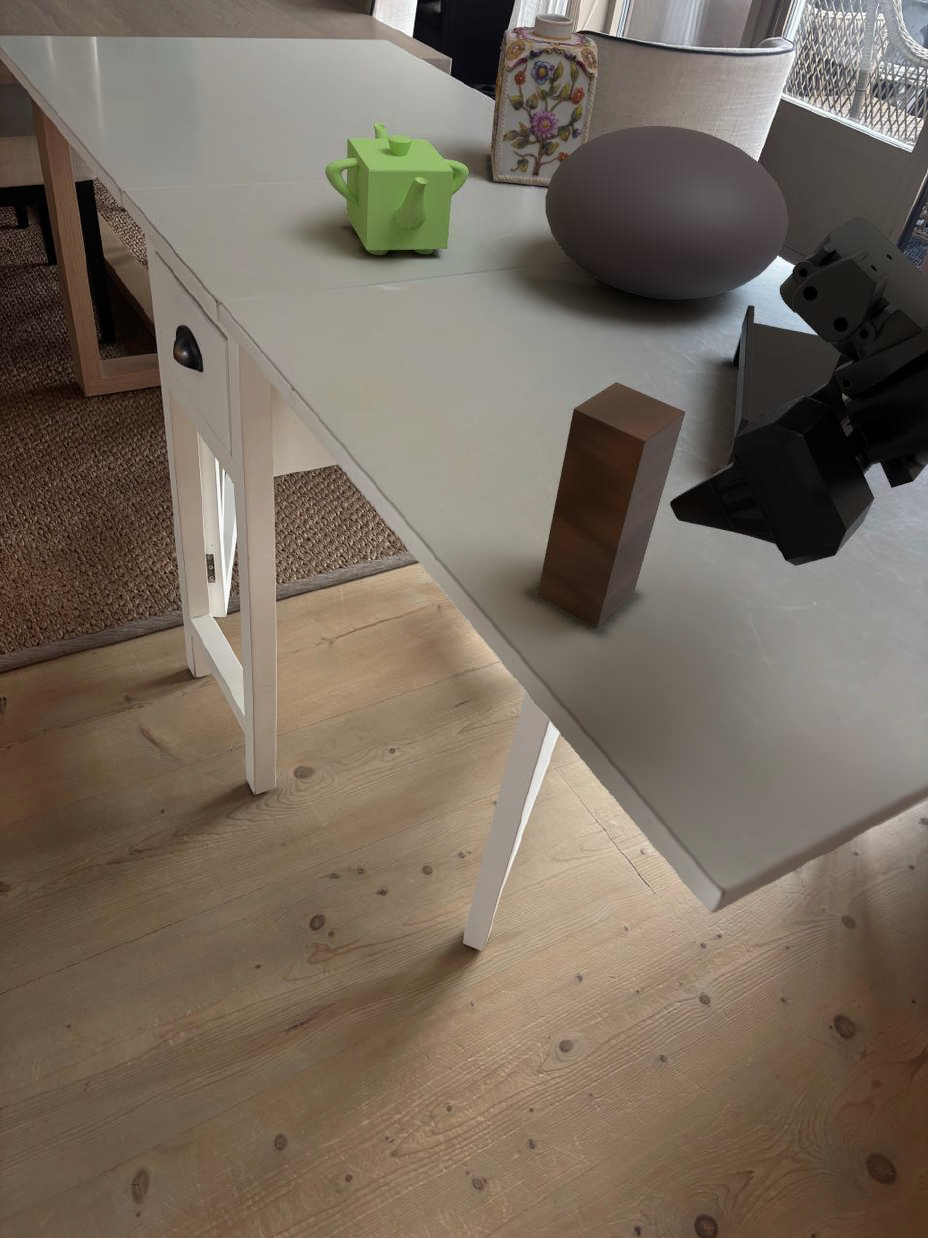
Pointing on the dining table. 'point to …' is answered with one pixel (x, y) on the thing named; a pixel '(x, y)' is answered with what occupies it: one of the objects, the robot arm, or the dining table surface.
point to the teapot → (397, 191)
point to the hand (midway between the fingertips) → (715, 475)
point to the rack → (776, 369)
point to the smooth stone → (666, 212)
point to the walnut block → (607, 500)
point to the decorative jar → (541, 99)
